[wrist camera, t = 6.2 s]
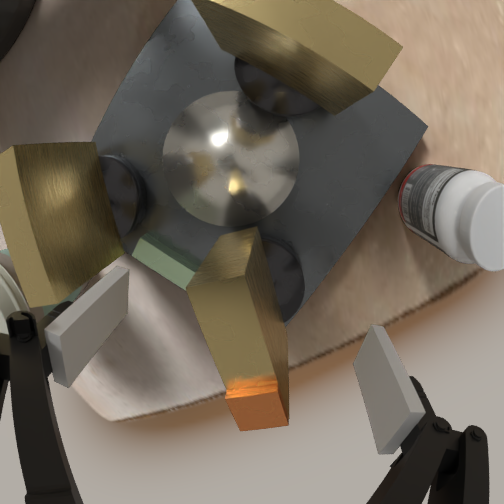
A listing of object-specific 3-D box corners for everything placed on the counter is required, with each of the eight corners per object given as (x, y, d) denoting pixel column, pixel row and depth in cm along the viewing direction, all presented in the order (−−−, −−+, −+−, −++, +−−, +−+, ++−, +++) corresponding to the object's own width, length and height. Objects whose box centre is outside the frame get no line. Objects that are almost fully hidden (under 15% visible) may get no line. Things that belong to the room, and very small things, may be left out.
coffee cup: (35, 212, 25) (-60, 249, 13) (105, 229, 25) (8, 284, 13) (38, 291, 27) (-38, 347, 16) (103, 315, 27) (31, 393, 16)
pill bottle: (466, 201, 21) (545, 231, 12) (423, 248, 23) (490, 302, 13) (427, 148, 20) (507, 153, 11) (381, 198, 22) (444, 230, 13)
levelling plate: (77, 204, 24) (55, 211, 21) (196, -4, 18) (185, -22, 15) (273, 329, 26) (272, 351, 23) (416, 127, 20) (435, 125, 17)
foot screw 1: (66, 160, 21) (-30, 176, 11) (132, 133, 20) (39, 128, 11) (91, 255, 23) (10, 310, 14) (159, 239, 22) (87, 299, 13)
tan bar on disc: (198, 235, 22) (136, 303, 12) (288, 212, 21) (298, 268, 11) (231, 332, 24) (204, 436, 14) (312, 315, 23) (330, 420, 13)
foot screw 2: (209, 81, 19) (156, 30, 9) (261, 11, 17) (248, -74, 7) (312, 143, 19) (345, 134, 10) (362, 70, 18) (422, 16, 8)
